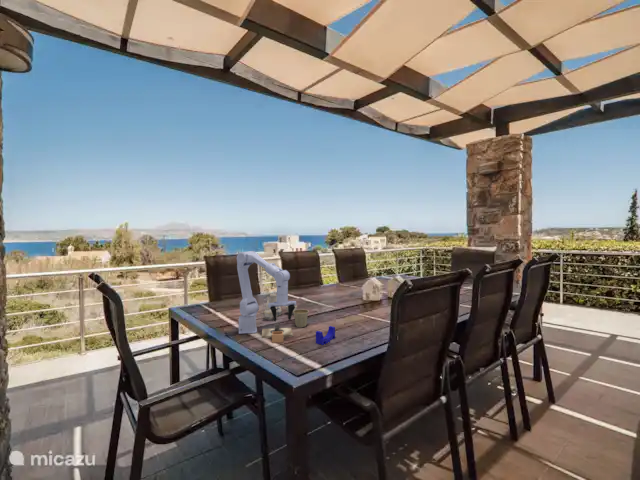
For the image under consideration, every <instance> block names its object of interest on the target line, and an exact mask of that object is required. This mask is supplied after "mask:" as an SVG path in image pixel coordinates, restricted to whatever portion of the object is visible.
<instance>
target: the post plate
mask: <svg viewBox="0 0 640 480" xmlns="http://www.w3.org/2000/svg"><path fill="white" fill-rule="evenodd" d="M280 327H281V325H280V323H275V324H274V327H273V328H261V329H262V331H261V339H272V331H283V338H290V337H291V338H292V337H293V336H294V335H293V330H292V327H281V328H280Z"/></svg>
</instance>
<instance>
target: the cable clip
mask: <svg viewBox="0 0 640 480" xmlns="http://www.w3.org/2000/svg"><path fill="white" fill-rule="evenodd" d="M335 339H336V327H335V326H331V325H329V326H328V330H327V333H326V335H325V336H324V334H323V331H320V330H317V331H315V344H317V345H320V344H321V345H320V346H325V345H326V343H327V344H329V343H331V341H333V340H335ZM328 342H329V343H328ZM324 344H325V345H324Z"/></svg>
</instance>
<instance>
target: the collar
mask: <svg viewBox="0 0 640 480" xmlns="http://www.w3.org/2000/svg"><path fill="white" fill-rule="evenodd" d="M275 343H276V344H278V343H284V337H283V331H272V338H271V344H275Z"/></svg>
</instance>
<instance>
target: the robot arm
mask: <svg viewBox="0 0 640 480" xmlns="http://www.w3.org/2000/svg"><path fill="white" fill-rule="evenodd" d="M254 263H255V264H257V265H258V266H260V267H262V268H263V269H265V270H264V271H265V272H266V273H267V274H268V275H269V276H271V277H272V278H273V279H274V281H275V284H276V292H277V302H273V303H268V307H269V308H270V309H271V311H272V314H273V322H277V316H276V310H277V309H276V307H279V306H281V307H284V306H288V312H287V314H288V315H287V319H288V320H289V321H291V319H292V313H293V310H294V309H295V306H294V305H296V306H297V301H296V300H289V280H290V279H291V273H290V272H289V271H288V270H287V269H283V268H281V267H279V266H277V264H276V263H275V262H268V261H266V260H265V259H264V258H263V257H261V256H260V255H259V253H257V252H256V251H254V250H250V251H240V252H238V254H237V256H236V264H237V265H236V269H237V276H238V280H239V287H240V291H241V297H242V299H241V300H240V302H239V314H240V315H239V316H238V327H237V328H238V335H239V334H240V335H241V334H243V335H244V334H257V333H258V327H257V314H258V312H259V310H260V306H259V304H258V302H257V299H256V298H255V297H254V296H253V291H252V286H251V281H250V274H249V268H250V267H251V265H252V264H254ZM293 314H294V313H293Z"/></svg>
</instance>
